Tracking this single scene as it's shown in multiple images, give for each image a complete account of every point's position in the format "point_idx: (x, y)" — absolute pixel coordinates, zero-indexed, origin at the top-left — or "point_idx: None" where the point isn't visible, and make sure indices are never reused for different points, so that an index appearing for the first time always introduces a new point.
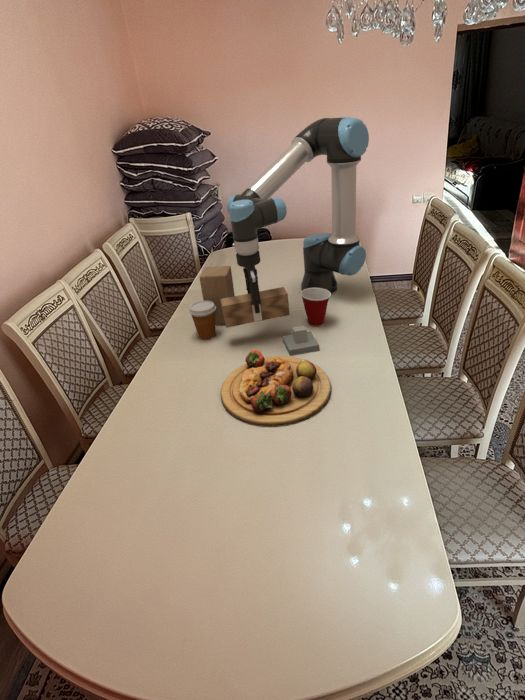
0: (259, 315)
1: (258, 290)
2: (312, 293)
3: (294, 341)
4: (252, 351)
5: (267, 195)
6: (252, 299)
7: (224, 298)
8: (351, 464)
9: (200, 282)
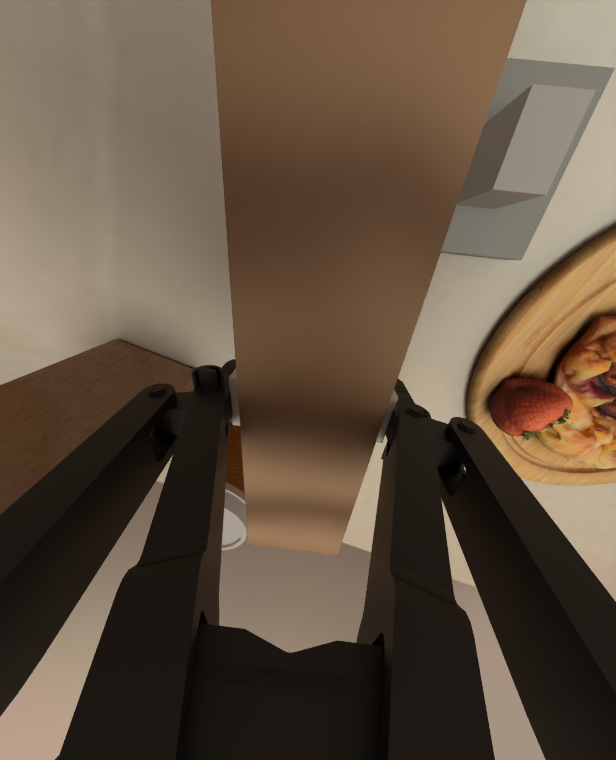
0: None
1: (571, 558)
2: None
3: (474, 206)
4: (538, 429)
5: None
6: (440, 491)
7: (251, 534)
8: None
9: None
